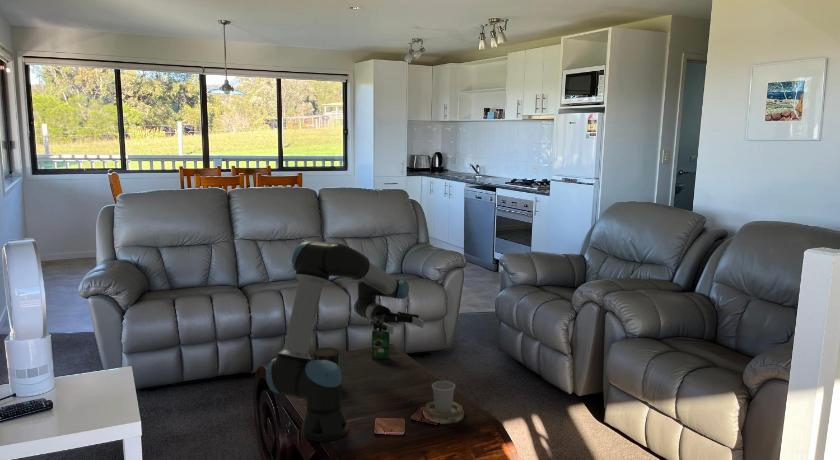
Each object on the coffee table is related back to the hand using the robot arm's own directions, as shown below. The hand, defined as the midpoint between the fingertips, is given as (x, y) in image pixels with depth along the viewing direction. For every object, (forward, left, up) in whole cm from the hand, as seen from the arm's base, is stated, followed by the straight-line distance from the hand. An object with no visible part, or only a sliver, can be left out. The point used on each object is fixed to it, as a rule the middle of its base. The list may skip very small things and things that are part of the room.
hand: (407, 327), depth 225 cm
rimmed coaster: (+3, -19, -28) cm, 34 cm away
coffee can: (-20, +28, -28) cm, 45 cm away
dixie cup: (+3, -19, -27) cm, 33 cm away
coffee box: (+14, +43, -28) cm, 54 cm away
